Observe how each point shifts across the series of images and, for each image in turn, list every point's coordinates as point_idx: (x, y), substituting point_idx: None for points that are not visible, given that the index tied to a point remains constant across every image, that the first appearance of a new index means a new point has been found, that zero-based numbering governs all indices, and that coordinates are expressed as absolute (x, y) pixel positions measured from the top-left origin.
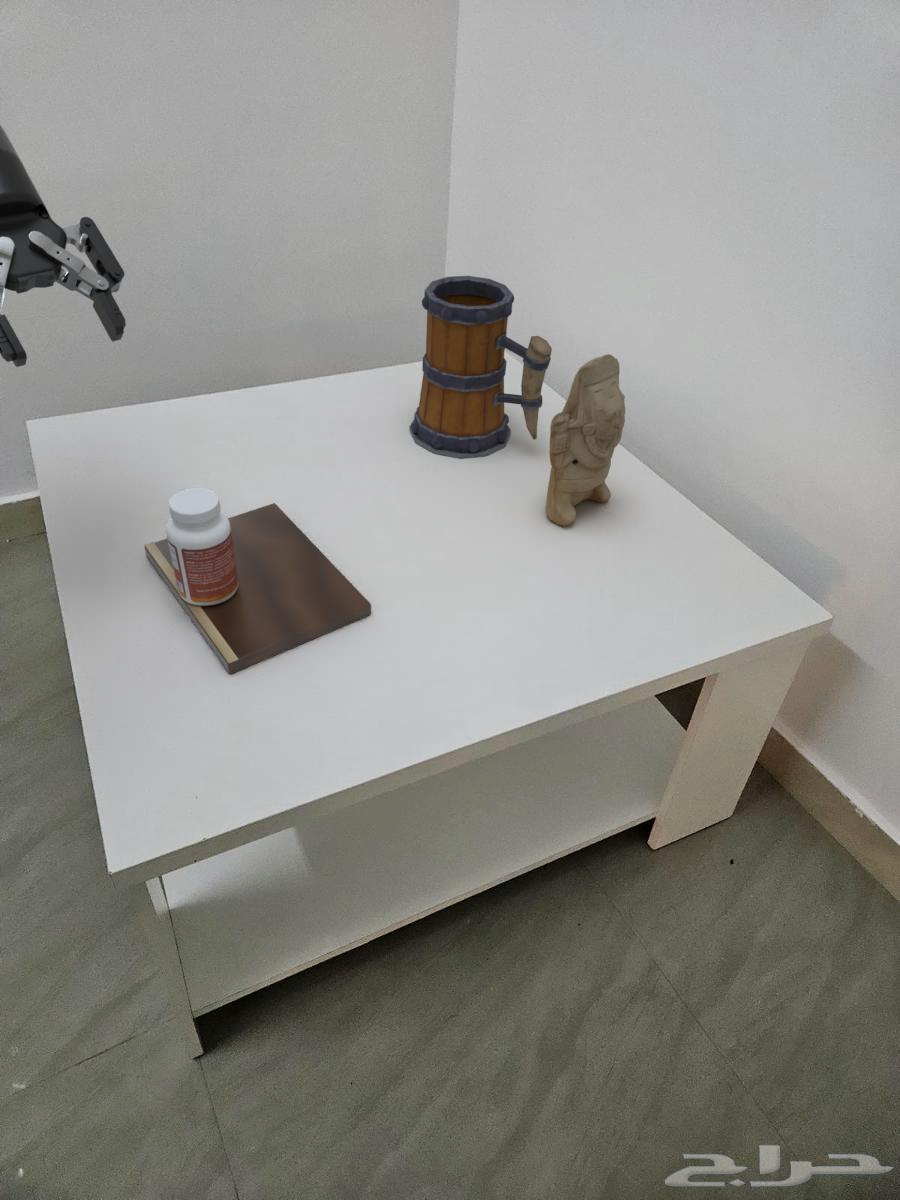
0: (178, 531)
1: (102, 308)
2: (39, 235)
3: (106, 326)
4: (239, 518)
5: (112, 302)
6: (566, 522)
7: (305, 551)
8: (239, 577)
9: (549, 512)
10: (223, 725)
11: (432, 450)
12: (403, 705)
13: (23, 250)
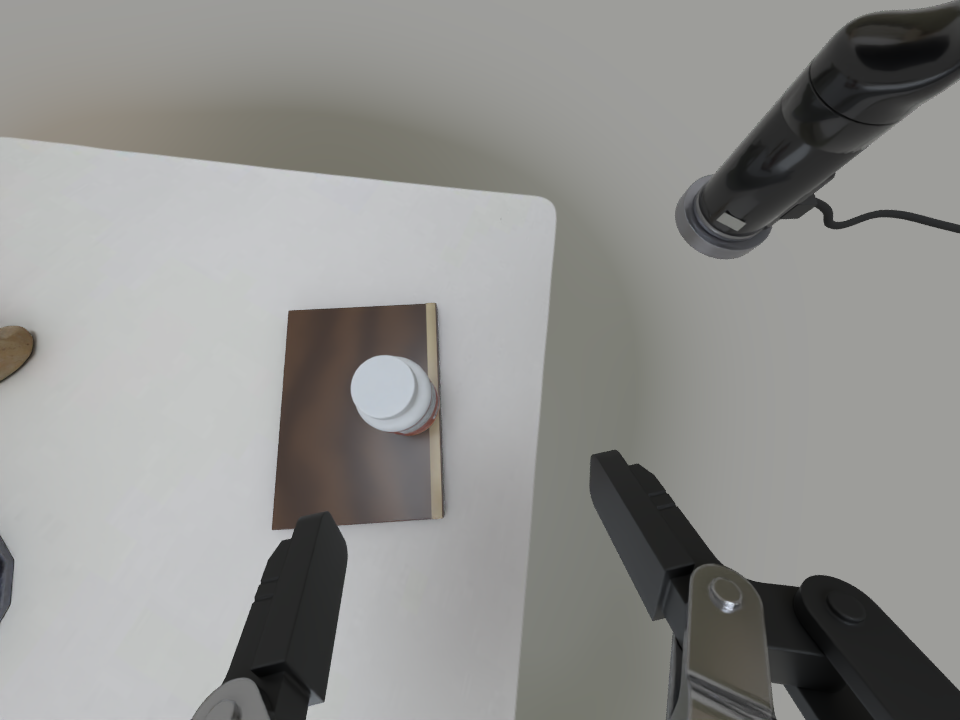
0: (418, 377)
1: (308, 604)
2: None
3: (335, 582)
4: None
5: (255, 632)
6: (24, 328)
7: (295, 416)
8: None
9: (21, 350)
10: (462, 264)
11: (8, 565)
12: (336, 218)
13: None
